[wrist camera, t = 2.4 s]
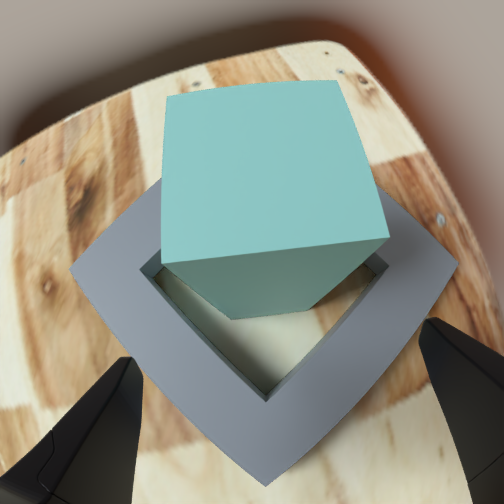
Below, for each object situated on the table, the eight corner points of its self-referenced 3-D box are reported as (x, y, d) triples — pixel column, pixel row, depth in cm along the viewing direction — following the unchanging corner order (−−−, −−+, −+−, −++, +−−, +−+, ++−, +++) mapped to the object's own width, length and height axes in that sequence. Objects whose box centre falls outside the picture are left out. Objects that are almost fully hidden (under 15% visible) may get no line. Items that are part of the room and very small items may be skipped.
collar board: (441, 271, 20) (458, 263, 18) (265, 471, 16) (265, 486, 14) (261, 120, 24) (260, 99, 22) (86, 277, 21) (68, 269, 19)
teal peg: (307, 310, 20) (389, 237, 6) (230, 319, 20) (161, 263, 6) (296, 238, 21) (336, 80, 8) (224, 246, 21) (166, 96, 8)
